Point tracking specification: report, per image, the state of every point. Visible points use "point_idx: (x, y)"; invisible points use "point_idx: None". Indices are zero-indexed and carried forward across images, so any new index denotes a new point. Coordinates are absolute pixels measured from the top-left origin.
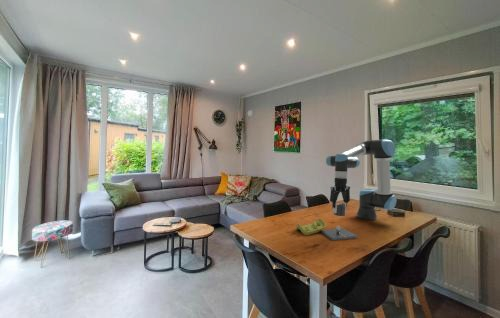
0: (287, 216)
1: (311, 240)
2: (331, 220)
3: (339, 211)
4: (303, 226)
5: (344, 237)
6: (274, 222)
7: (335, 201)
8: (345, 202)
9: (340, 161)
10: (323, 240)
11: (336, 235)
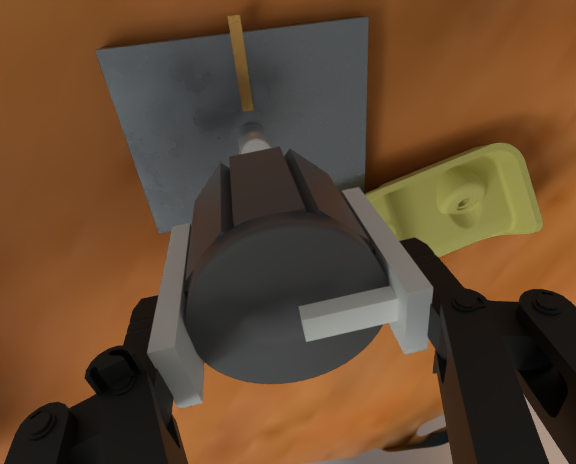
0: (402, 406)
1: (517, 41)
2: None
3: (319, 186)
4: (478, 229)
5: (243, 31)
6: None
7: (469, 322)
8: (157, 370)
9: None
10: (431, 29)
11: (298, 79)
